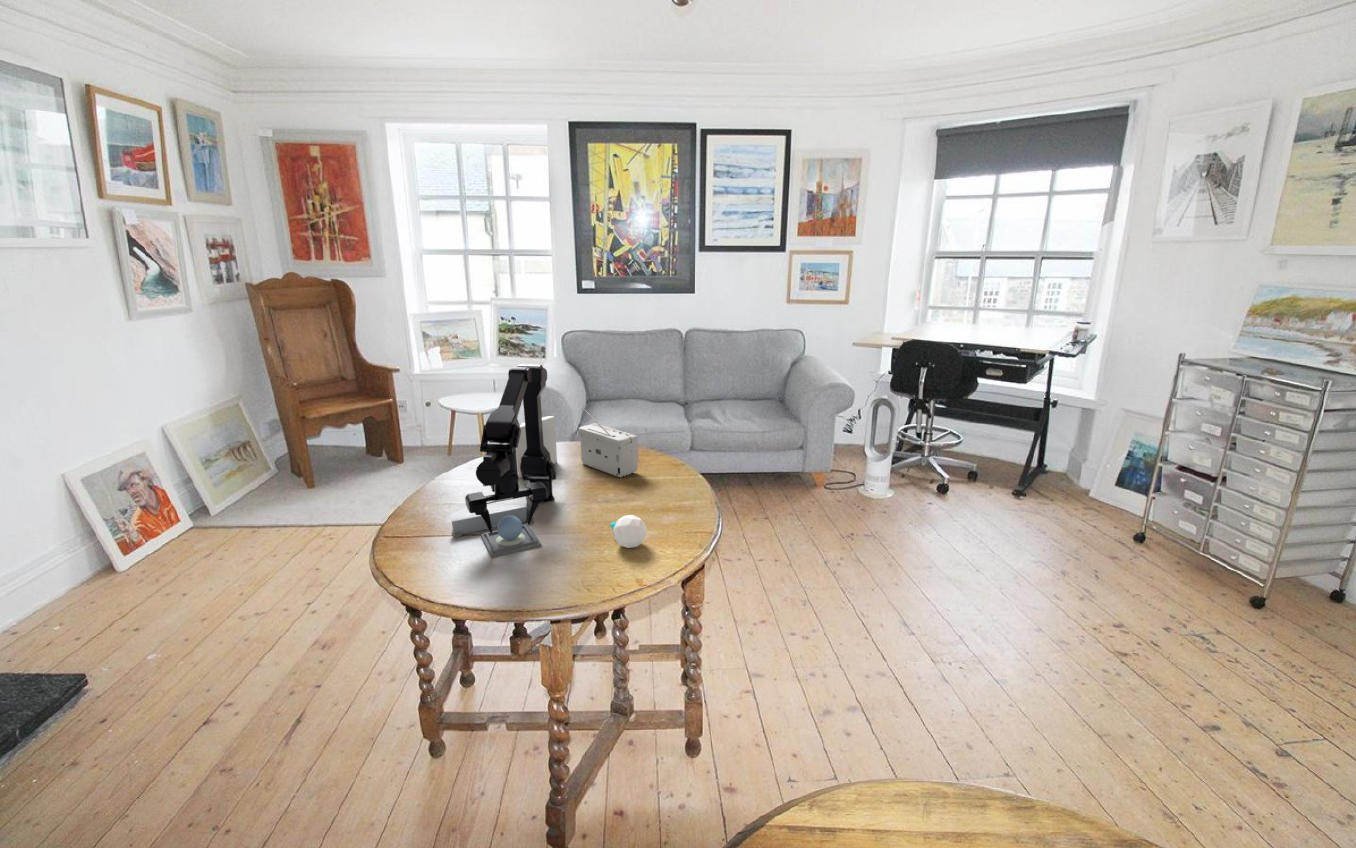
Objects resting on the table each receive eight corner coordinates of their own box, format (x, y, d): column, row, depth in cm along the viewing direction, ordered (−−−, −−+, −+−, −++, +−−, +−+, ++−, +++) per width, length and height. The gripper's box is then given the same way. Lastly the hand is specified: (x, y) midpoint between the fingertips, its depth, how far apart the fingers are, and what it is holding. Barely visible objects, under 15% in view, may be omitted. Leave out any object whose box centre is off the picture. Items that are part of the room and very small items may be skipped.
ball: (519, 531, 151) (518, 509, 149) (525, 541, 146) (524, 519, 144) (495, 536, 148) (493, 514, 146) (501, 546, 143) (499, 524, 141)
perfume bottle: (621, 546, 138) (592, 533, 146) (645, 555, 143) (616, 543, 152) (635, 514, 139) (605, 504, 148) (658, 525, 145) (628, 515, 153)
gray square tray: (528, 526, 155) (528, 522, 154) (541, 546, 145) (541, 541, 144) (481, 536, 149) (480, 532, 149) (491, 557, 139) (491, 553, 139)
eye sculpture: (534, 455, 206) (531, 410, 201) (559, 463, 199) (556, 416, 194) (494, 469, 193) (490, 421, 188) (518, 478, 186) (515, 428, 181)
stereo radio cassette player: (639, 473, 191) (638, 414, 185) (620, 480, 185) (619, 419, 179) (596, 458, 204) (594, 402, 198) (577, 464, 198) (575, 407, 193)
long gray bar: (529, 515, 161) (528, 502, 159) (533, 521, 157) (532, 507, 156) (452, 531, 151) (450, 517, 150) (454, 538, 148) (453, 523, 147)
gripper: (534, 453, 152) (537, 508, 157) (458, 465, 144) (464, 523, 148) (547, 466, 143) (550, 525, 148) (466, 480, 134) (473, 542, 139)
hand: (509, 528), depth 146 cm, fingers open, 9 cm apart
